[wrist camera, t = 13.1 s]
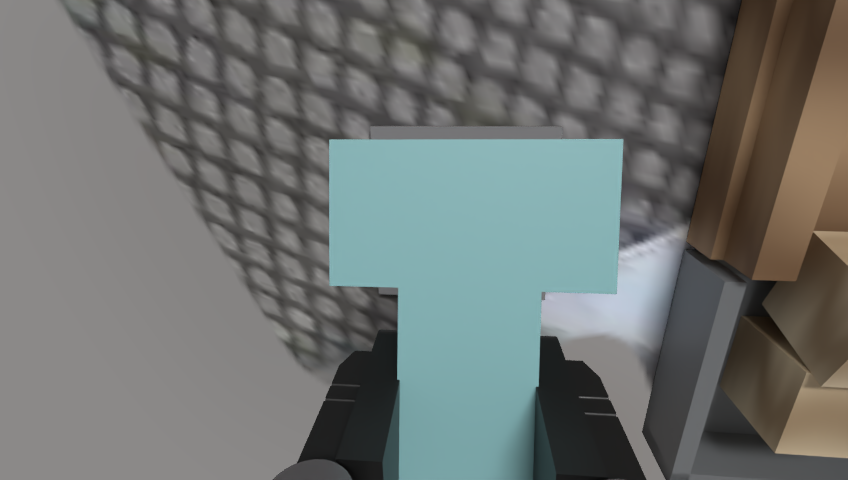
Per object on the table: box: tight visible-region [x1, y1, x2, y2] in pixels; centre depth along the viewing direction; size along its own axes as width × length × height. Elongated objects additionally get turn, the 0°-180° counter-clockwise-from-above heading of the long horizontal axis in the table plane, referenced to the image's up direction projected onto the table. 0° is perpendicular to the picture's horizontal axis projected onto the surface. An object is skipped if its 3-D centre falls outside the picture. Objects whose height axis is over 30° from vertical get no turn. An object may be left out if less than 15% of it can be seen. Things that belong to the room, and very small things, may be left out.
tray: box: [642, 250, 848, 480], centre depth 19 cm, size 11×10×3 cm
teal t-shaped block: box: [329, 139, 623, 480], centre depth 9 cm, size 2×5×8 cm
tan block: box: [720, 316, 848, 458], centre depth 18 cm, size 4×4×4 cm
